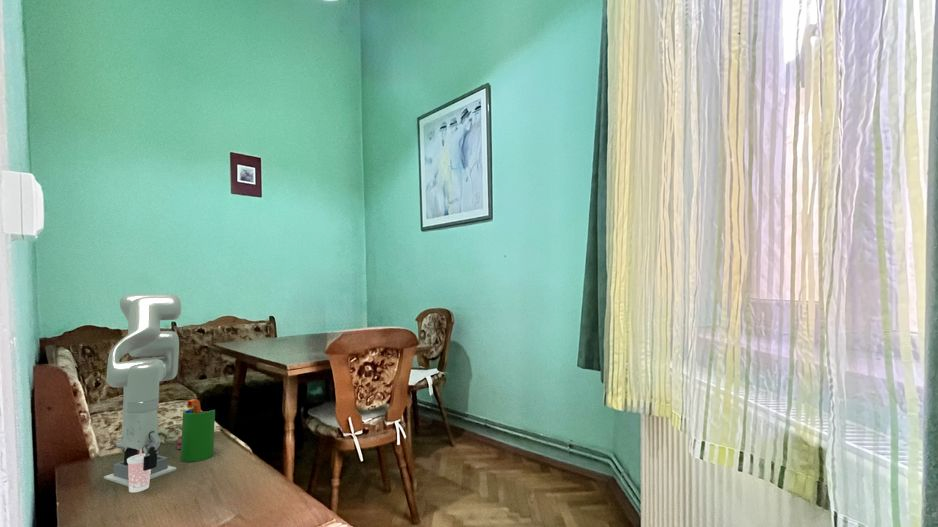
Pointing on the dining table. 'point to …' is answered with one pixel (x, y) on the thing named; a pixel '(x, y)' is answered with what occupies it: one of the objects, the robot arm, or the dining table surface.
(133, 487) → the beverage cup
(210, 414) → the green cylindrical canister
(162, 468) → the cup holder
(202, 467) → the dining table surface
